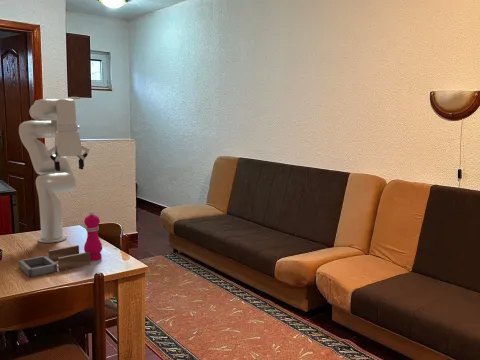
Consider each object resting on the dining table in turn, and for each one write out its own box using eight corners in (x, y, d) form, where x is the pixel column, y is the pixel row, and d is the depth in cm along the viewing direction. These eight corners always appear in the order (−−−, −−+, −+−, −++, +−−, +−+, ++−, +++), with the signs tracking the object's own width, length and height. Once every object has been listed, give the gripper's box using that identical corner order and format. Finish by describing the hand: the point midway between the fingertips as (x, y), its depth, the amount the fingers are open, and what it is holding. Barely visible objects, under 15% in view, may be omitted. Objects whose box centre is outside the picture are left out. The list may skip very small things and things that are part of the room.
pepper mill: (97, 261, 187) (95, 213, 184) (81, 260, 189) (78, 212, 186) (106, 256, 194) (104, 209, 191) (90, 255, 196) (88, 209, 193)
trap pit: (19, 267, 180) (18, 260, 179) (45, 262, 186) (45, 255, 186) (29, 277, 169) (29, 270, 169) (57, 272, 175) (57, 264, 175)
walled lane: (48, 262, 186) (48, 250, 186) (78, 256, 194) (77, 245, 193) (59, 271, 176) (58, 258, 176) (90, 264, 184) (89, 252, 183)
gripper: (84, 128, 200) (86, 167, 202) (42, 129, 189) (45, 171, 192) (90, 128, 194) (93, 169, 197) (48, 129, 184) (51, 172, 186)
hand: (69, 170), depth 194 cm, fingers open, 9 cm apart
